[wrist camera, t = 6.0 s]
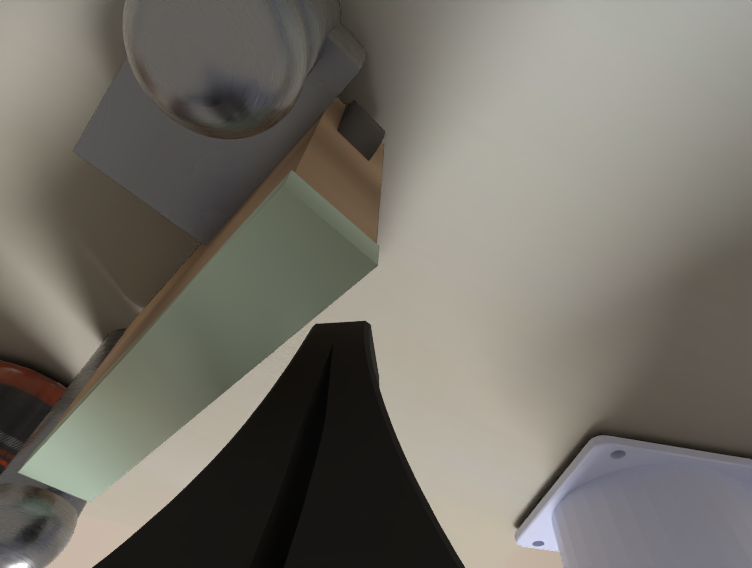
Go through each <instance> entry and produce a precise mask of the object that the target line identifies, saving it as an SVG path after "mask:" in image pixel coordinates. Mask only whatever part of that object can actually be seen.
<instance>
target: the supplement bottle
mask: <svg viewBox="0 0 752 568" xmlns="http://www.w3.org/2000/svg"><path fill="white" fill-rule="evenodd" d="M66 389H67V387H65V386H64V385H62V384H61V383H59V382H56V381H54V380H52V379H50V378H49V377H47V376H45V375H43V374H41V373H39V372H37V371H34V370H32V369H29V368H26V367H23V366H20V365H17V364H13V363H9V362H4V361H1V360H0V474H1V473H2V472H3V470H4V469H5V468H6V466H7V465H8V464H9V463H10V461H11V460H12V459H13V457H14V456H15V455H16V453H17V452H18V451H19V450H20V448H21V447H22V446H23V444H24V443H25V442H26V441H27V439H28V438H29V437H30V435H31V434H32V433H33V432H34V430H35V429H36V428H37V426H38V425H39V424H40V423H41V421H42V420H43V419H44V417H45V416H46V415H47V414H48V412H49V411H50V410H51V408H52V407H53V406H54V404H55V403H56V402H57V401H58V399H59V398H60V397H61V395H62V394H63V393H64V392H65V390H66Z"/></svg>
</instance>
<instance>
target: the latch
mask: <svg viewBox="0 0 752 568" xmlns="http://www.w3.org/2000/svg"><path fill="white" fill-rule="evenodd" d="M123 39H124V46H125V50H126V54H127V57H126V59H125V61H124V63H123V64H122V66H121V68H120V70H119V71H118V73H117V75H116V77H115V78H114V80H113V82H112V84H111V85H110V87H109V89H108V90H107V92H106V94H105V96H104V97H103V99H102V101H101V103H100V104H99V106H98V108H97V110H96V111H95V113H94V115H93V117H92V118H91V120H90V122H89V124H88V125H87V127H86V129H85V131H84V132H83V134H82V136H81V138H80V139H79V141H78V143H77V145H76V146H75V148H74V150H73V152H74V153H76V154H77V155H78V156H80V157H81V158H83V159H84V160H85V161H87V162H88V163H90V164H91V165H92V166H94V167H95V168H97V169H98V170H99V171H101V172H102V173H104V174H105V175H106V176H108V177H109V178H111V179H112V180H113V181H115V182H116V183H118V184H119V185H120V186H122V187H123V188H125V189H126V190H127V191H129V192H130V193H132V194H133V195H134V196H136V197H137V198H139V199H140V200H141V201H143V202H144V203H146V204H147V205H148V206H150V207H151V208H153V209H154V210H155V211H157V212H158V213H160V214H161V215H162V216H164V217H165V218H167V219H168V220H169V221H171V222H172V223H174V224H175V225H176V226H178V227H179V228H181V229H182V230H183V231H185V232H186V233H188V234H189V235H190V236H192V237H193V238H195V239H196V240H197V241H199V242H200V243H202V244H203V245H204V246H206V245H207V244H208V243H209V242H210V240H211V239H212V238H213V237H214V236H215V235H216V234H217V233H218V231H219V230H220V229H221V228H222V227H223V226H224V225H225V224H226V223H227V221H228V220H229V219H230V218H231V217H232V216H233V215H234V213H235V212H236V211H237V210H238V209H239V208H240V207H241V205H242V204H243V203H244V202H245V201H246V200H247V199H248V198H249V196H250V195H251V194H252V193H253V192H254V191H255V190H256V188H257V187H258V186H259V185H260V184H261V183H262V182H263V181H264V179H265V178H266V177H267V176H268V175H269V174H270V173H271V171H272V170H273V169H274V168H275V167H276V166H277V165H278V163H279V162H280V161H281V160H282V159H283V158H284V157H285V156H286V154H287V153H288V152H289V151H290V150H291V149H292V148H293V146H294V145H295V144H296V143H297V142H298V141H299V140H300V139H301V137H302V136H303V135H304V134H305V133H306V132H307V131H308V129H309V128H310V127H311V126H312V125H313V124H314V123H315V121H316V120H317V119H318V118H319V117H320V116H321V115H322V114H323V112H324V111H325V110H326V109H327V108H328V107H329V106H330V104H331V103H332V102H333V101H334V100H335V99H336V98H337V97H338V95H339V94H340V93H341V92H342V91H343V90H344V89H345V87H346V86H347V85H348V84H349V83H350V82H351V81H352V79H353V78H354V77H355V76H356V75H357V74H358V73H359V72H360V70H361V67H362V65H363V62H364V59H365V56H366V53H367V51H366V50H365V49H364V48H363V46H362V45H361V44H360V43H359V42H358V41H357V40H356V39H355V38H354V37H353V36H352V35H351V33H350V32H349V31H348V30H347V29H346V28H345V27H344V26H343V25H342V24H341V23H340V5H339V0H125V4H124V10H123Z"/></svg>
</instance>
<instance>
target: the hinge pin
mask: <svg viewBox="0 0 752 568" xmlns="http://www.w3.org/2000/svg"><path fill="white" fill-rule="evenodd" d="M125 331H126V329H123V330H117V331H114V332H112V333H110V334H109V335H108V336H107V337H106V339H105V340H104V341H103V343H102V344H101V345H100V346H99V348H98V349H97V350H96V352H95V353H94V354H93V355H92V357H91V358H90V359H89V361H88V362H87V363H86V365H85V366H84V367H83V368H82V370H81V371H80V372H79V374H78V375H77V376H76V377H75V379H74V380H73V381H72V383H71V384H70V385H69V386H68V388H67V389H66V390H65V392H64V393H63V394H62V395H61V397H60V398H59V399H58V401H57V402H56V403H55V404H54V406H53V407H52V408H51V410H50V411H49V412H48V414H47V415H46V416H45V417H44V419H43V420H42V421H41V423H40V424H39V425H38V426H37V428H36V429H35V430H34V432H33V433H32V434H31V435H30V437H29V438H28V439H27V441H26V442H25V443H24V444H23V446H22V447H21V448H20V450H19V451H18V452H17V453H16V455H15V456H14V457H13V459H12V460H11V461H10V463H9V464H8V465H7V466H6V468H5V469H4V470H3V472H2V473H1V474H0V568H45V567H46V566H47V565H49V564H50V563H51V562H52V561H54V560H55V559H56V558H57V556H59V554H60V553H61V552H62V551H63V550H64V548H65V547H66V546H67V544H68V543H69V541H70V539H71V537H72V535H73V533H74V530H75V527H76V524H77V519H78V517H79V515H80V513H81V511H82V510H83V508H84V506H85V504H86V503H87V501H85V500H83V499H81V498H78V497H76V496H73V495H71V494H68V493H66V492H64V491H61V490H59V489H56V488H54V487H52V486H49V485H47V484H44V483H42V482H39V481H37V480H35V479H32V478H30V477H27V476H25V475H22V474H20V473H18V472H19V470H20V469H21V468H22V466H23V465H24V463H25V462H26V461H27V459H28V458H29V457H30V455H31V454H32V453H33V451H34V450H35V449H36V448H37V447H38V446H39V445H40V444H41V443H42V442H43V441H44V439H45V438H46V437H47V436H48V435H49V434H50V432H51V431H52V430H53V428H54V427H55V426H56V424H57V423H58V422H59V420H60V419H61V418H62V416H63V415H64V413H65V412H66V411H67V409H68V408H69V407H70V405H71V404H72V403H73V401H74V400H75V399H76V397H77V396H78V395H79V393H80V392H81V390H82V389H83V388H84V386H85V385H86V384H87V382H88V381H89V380H90V378H91V377H92V376H93V374H94V373H95V371H96V370H97V369H98V367H99V366H100V365H101V363H102V362H103V361H104V359H105V358H106V357H107V355H108V354H109V353H110V351H111V350H112V348H113V347H114V346H115V344H116V343H117V342H118V340H119V339H120V338H121V336H122V335H123V334H124V332H125Z"/></svg>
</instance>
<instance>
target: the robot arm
mask: <svg viewBox="0 0 752 568" xmlns="http://www.w3.org/2000/svg"><path fill="white" fill-rule="evenodd" d="M515 540H516V543H517V544H518V545H520V546H523V547H529V548H537V549H543V550H551V551H558V552H559V553H560V556H561V560H562V564H563V568H752V459H748V458H742V457H736V456H730V455H723V454H717V453H711V452H705V451H699V450H693V449H687V448H681V447H675V446H669V445H663V444H656V443H650V442H644V441H638V440H632V439H626V438H620V437H614V436H608V435H600V436H596V437H594V438H592V439H591V440H589V441H588V443H587V444H586V445H585V446H584V448H583V449H582V450H581V451H580V453H579V454H578V455H577V456H576V458H575V459H574V460H573V461H572V463H571V464H570V465H569V466H568V468H567V469H566V470H565V471H564V473H563V474H562V475H561V476H560V478H559V479H558V480H557V481H556V483H555V484H554V485H553V486H552V488H551V489H550V490H549V491H548V492H547V494H546V495H545V496H544V497H543V499H542V500H541V501H540V502H539V504H538V505H537V506H536V507H535V509H534V510H533V511H532V512H531V514H530V515H529V516H528V517H527V519H526V520H525V521H524V522H523V524H522V525H521V526H520V527H519V529H518V530H517V531H516V532H515ZM92 568H465V567H464V565H463V563H462V562H461V560H460V558H459V557H458V555H457V553H456V552H455V550H454V548H453V547H452V545H451V543H450V541H449V540H448V538H447V536H446V534H445V533H444V531H443V529H442V528H441V526H440V524H439V522H438V520H437V518H436V517H435V515H434V513H433V511H432V509H431V507H430V505H429V503H428V501H427V499H426V498H425V496H424V494H423V492H422V490H421V488H420V486H419V484H418V482H417V480H416V478H415V476H414V474H413V472H412V470H411V468H410V466H409V463H408V461H407V459H406V457H405V455H404V452H403V450H402V448H401V446H400V443H399V441H398V439H397V436H396V434H395V431H394V429H393V426H392V424H391V421H390V418H389V415H388V413H387V410H386V407H385V404H384V401H383V398H382V395H381V392H380V389H379V374H378V368H377V362H376V356H375V350H374V343H373V337H372V331H371V325H370V324H369V323H368V322H366V321H356V322H340V323H324V324H315V325H314V326H313V327H312V329H311V330H310V332H309V333H308V335H307V337H306V338H305V340H304V341H303V343H302V345H301V346H300V348H299V349H298V351H297V353H296V354H295V356H294V357H293V359H292V360H291V362H290V363H289V365H288V366H287V368H286V369H285V370H284V372H283V373H282V375H281V376H280V378H279V379H278V380H277V382H276V383H275V385H274V386H273V388H272V389H271V390H270V392H269V393H268V394H267V396H266V397H265V398H264V400H263V401H262V402H261V404H260V405H259V406H258V407H257V409H256V410H255V411H254V412H253V414H252V415H251V416H250V418H249V419H248V420H247V421H246V423H245V424H244V425H243V426H242V427H241V429H240V430H239V431H238V432H237V433H236V435H235V436H234V437H233V438H232V439H231V440H230V441H229V443H228V444H227V445H226V446H225V447H224V448H223V449H222V450H221V451H220V453H219V454H218V455H217V456H216V457H215V458H214V459H213V460H212V461H211V462H210V463H209V464H208V465H207V466H206V467H205V468H204V469H203V470H202V471H201V472H200V473H199V474H198V475H197V476H196V477H195V478H194V479H193V480H192V481H191V482H190V483H189V484H188V485H187V486H186V487H185V488H184V489H183V490H182V491H181V492H180V493H179V494H178V495H177V496H176V497H175V498H174V499H173V500H172V501H171V502H170V503H169V504H167V505H166V506H165V507H164V508H163V509H162V510H161V511H160V512H158V513H157V514H156V515H155V516H154V517H153V518H152V519H150V520H149V521H148V522H147V523H146V524H145V525H144V526H142V527H141V528H140V529H139V530H138V531H137V532H135V533H134V534H133V535H132V536H131V537H130V538H129V539H127V540H126V541H125V542H124V543H123V544H122V545H120V546H119V547H118V548H117V549H115V550H114V551H113V552H112V553H110V554H109V555H108V556H107V557H105V558H104V559H103V560H102V561H100V562H99V563H98V564H96V565H95V566H94V567H92Z"/></svg>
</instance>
